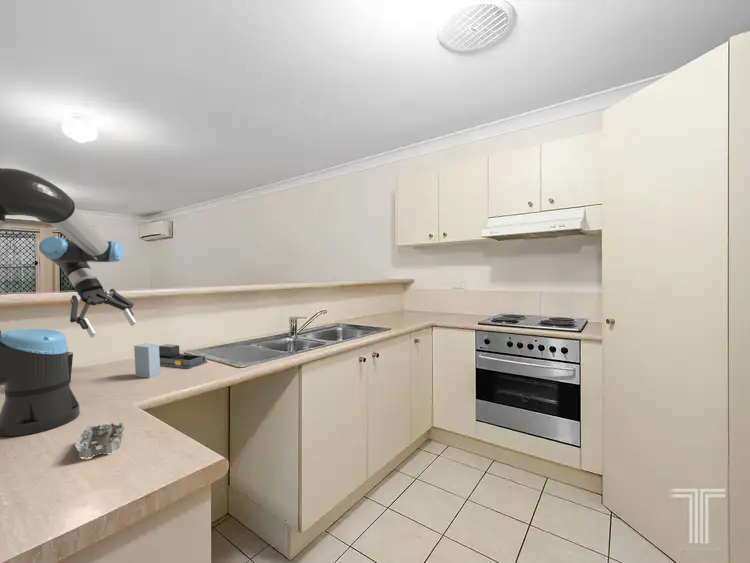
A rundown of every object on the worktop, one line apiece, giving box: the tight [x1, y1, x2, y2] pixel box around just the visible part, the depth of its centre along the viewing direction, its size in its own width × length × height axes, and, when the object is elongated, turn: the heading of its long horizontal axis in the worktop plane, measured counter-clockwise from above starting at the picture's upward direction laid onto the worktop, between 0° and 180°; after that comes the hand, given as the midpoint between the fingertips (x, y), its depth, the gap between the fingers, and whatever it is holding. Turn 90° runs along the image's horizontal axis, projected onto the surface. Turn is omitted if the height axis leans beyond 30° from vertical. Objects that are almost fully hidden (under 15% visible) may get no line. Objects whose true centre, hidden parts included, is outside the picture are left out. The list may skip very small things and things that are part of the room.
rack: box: [159, 343, 208, 370], centre depth 140 cm, size 9×21×7 cm, turn 70°
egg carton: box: [74, 422, 125, 458], centre depth 75 cm, size 11×8×4 cm
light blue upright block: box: [133, 342, 161, 379], centre depth 125 cm, size 4×7×11 cm, turn 70°
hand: (114, 329), depth 128 cm, fingers open, 13 cm apart
